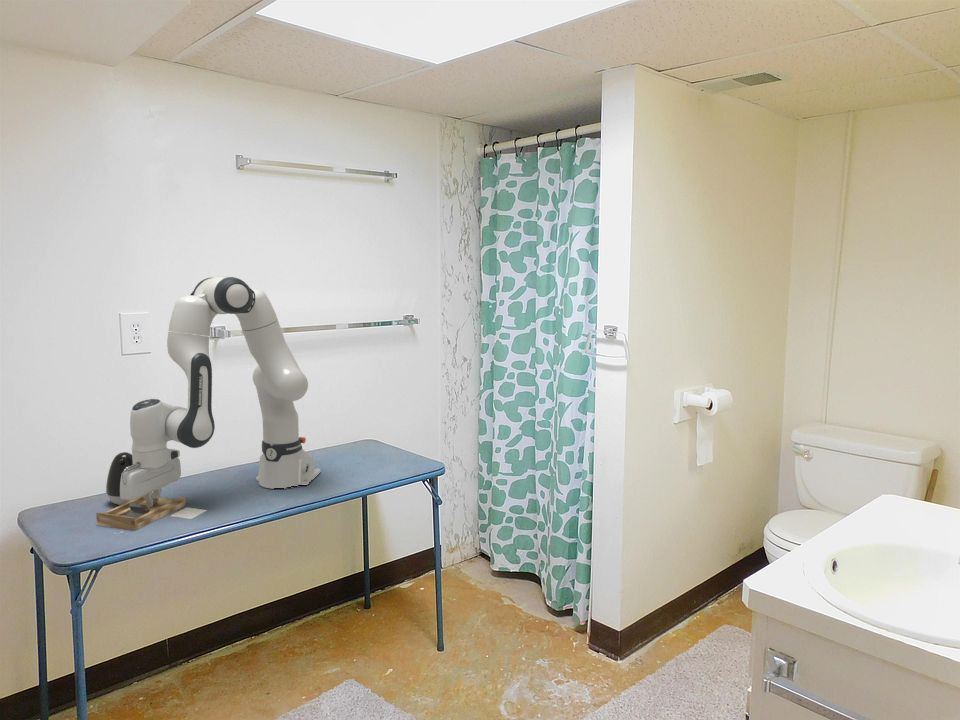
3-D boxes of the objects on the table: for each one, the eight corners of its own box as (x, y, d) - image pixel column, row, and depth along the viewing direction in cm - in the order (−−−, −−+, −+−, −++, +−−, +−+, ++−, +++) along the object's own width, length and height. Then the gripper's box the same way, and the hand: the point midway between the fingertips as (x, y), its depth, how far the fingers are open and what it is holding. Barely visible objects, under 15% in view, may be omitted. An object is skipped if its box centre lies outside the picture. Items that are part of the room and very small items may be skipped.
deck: (151, 504, 206) (150, 489, 205) (186, 509, 203) (185, 494, 202) (97, 529, 187) (96, 513, 186) (134, 534, 184) (133, 518, 183)
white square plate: (186, 511, 201) (186, 507, 201) (207, 514, 199) (207, 510, 199) (169, 520, 194) (169, 515, 194) (191, 523, 192) (191, 518, 192)
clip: (134, 508, 195) (130, 502, 193) (149, 510, 194) (145, 505, 192) (123, 523, 191) (119, 517, 190) (139, 525, 190) (134, 520, 188)
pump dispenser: (103, 509, 201) (99, 458, 199) (111, 497, 211) (108, 448, 208) (142, 507, 204) (139, 456, 201) (148, 495, 214) (145, 446, 211)
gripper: (131, 470, 185) (135, 519, 187) (183, 449, 204) (186, 494, 206) (111, 467, 186) (115, 517, 188) (165, 447, 206) (168, 492, 208)
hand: (152, 505), depth 198 cm, fingers closed
